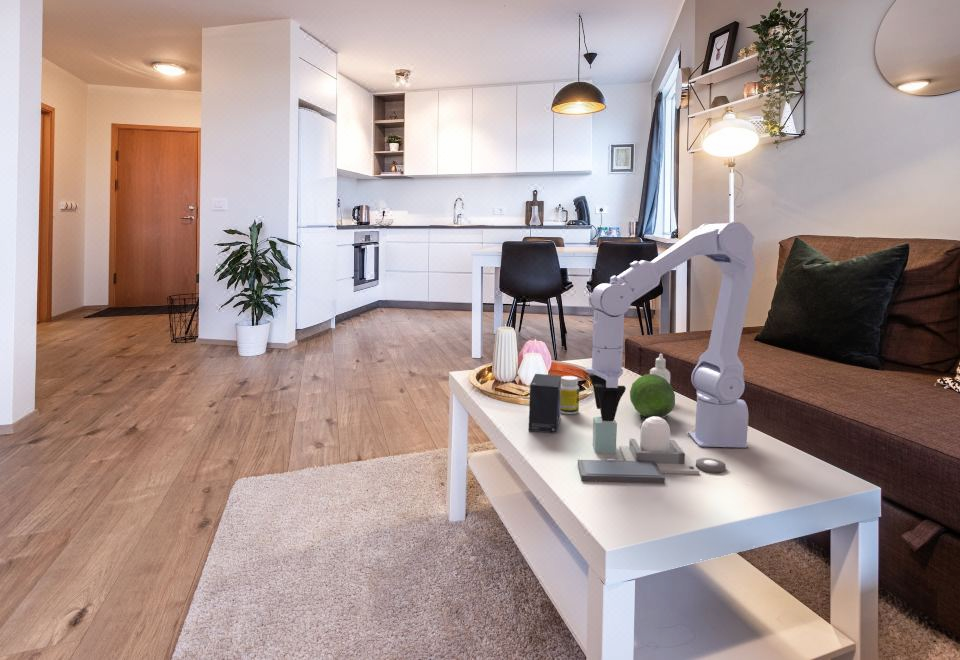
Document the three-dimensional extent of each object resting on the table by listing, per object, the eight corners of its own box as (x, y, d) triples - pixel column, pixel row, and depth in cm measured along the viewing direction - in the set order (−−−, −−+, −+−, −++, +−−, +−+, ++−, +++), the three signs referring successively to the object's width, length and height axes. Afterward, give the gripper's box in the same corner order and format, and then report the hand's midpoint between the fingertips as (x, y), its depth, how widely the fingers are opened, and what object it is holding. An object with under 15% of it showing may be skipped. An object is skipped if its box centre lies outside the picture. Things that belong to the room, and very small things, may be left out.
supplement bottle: (580, 414, 134) (581, 380, 133) (560, 414, 135) (560, 380, 133) (576, 408, 139) (577, 375, 138) (557, 408, 139) (558, 375, 138)
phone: (655, 466, 104) (655, 459, 104) (664, 483, 97) (665, 475, 97) (577, 464, 105) (577, 457, 105) (581, 480, 98) (581, 473, 98)
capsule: (667, 453, 110) (669, 413, 109) (669, 464, 105) (672, 422, 104) (639, 451, 112) (640, 411, 110) (639, 461, 107) (641, 420, 105)
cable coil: (719, 462, 106) (720, 457, 106) (729, 473, 101) (729, 468, 101) (692, 461, 106) (692, 457, 106) (700, 472, 101) (700, 467, 101)
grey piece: (681, 450, 112) (681, 438, 112) (699, 474, 101) (699, 460, 100) (619, 448, 113) (619, 436, 112) (630, 472, 102) (630, 459, 101)
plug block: (612, 445, 115) (613, 414, 114) (615, 453, 111) (617, 420, 110) (592, 445, 115) (593, 413, 114) (595, 452, 111) (596, 420, 110)
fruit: (625, 404, 143) (626, 365, 141) (666, 406, 141) (668, 366, 140) (632, 424, 128) (634, 380, 126) (678, 426, 126) (680, 382, 125)
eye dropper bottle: (652, 402, 144) (654, 356, 142) (647, 396, 150) (649, 351, 148) (670, 402, 144) (672, 356, 142) (664, 396, 150) (666, 351, 148)
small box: (558, 433, 122) (559, 386, 120) (527, 431, 123) (528, 384, 121) (561, 418, 132) (562, 374, 130) (533, 416, 133) (533, 373, 132)
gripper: (582, 339, 117) (580, 403, 119) (591, 353, 103) (588, 425, 105) (617, 339, 116) (614, 404, 119) (630, 354, 102) (627, 426, 104)
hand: (604, 414), depth 112 cm, fingers open, 7 cm apart
